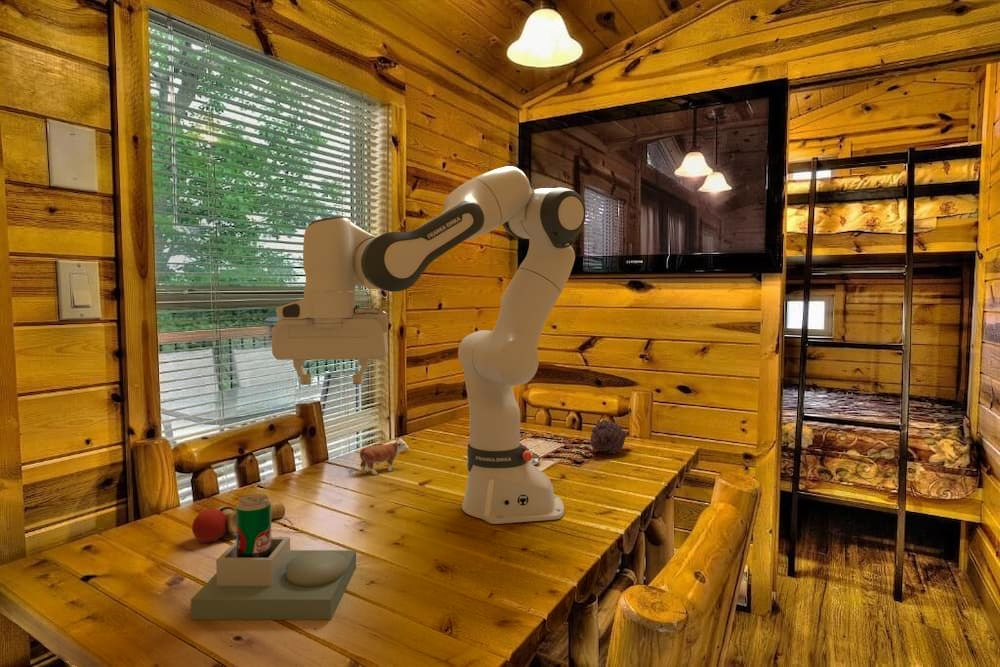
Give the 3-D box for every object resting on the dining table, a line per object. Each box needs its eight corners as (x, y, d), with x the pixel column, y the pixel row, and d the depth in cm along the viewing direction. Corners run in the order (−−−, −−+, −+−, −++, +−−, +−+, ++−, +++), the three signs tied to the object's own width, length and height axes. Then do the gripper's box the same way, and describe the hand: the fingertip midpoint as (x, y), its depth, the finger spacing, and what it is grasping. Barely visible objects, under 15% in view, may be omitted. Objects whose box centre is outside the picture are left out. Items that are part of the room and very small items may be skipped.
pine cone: (605, 463, 163) (606, 428, 162) (576, 456, 169) (576, 422, 169) (636, 451, 176) (636, 418, 175) (607, 445, 183) (608, 413, 182)
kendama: (267, 518, 124) (181, 534, 110) (273, 490, 124) (187, 502, 109) (287, 534, 120) (200, 552, 105) (294, 504, 119) (207, 519, 105)
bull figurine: (410, 469, 155) (410, 439, 155) (362, 477, 148) (362, 446, 147) (403, 465, 159) (403, 435, 158) (356, 473, 151) (356, 442, 151)
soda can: (259, 583, 88) (257, 505, 87) (229, 579, 89) (228, 502, 88) (278, 567, 93) (277, 494, 92) (250, 564, 94) (249, 491, 93)
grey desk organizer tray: (356, 567, 100) (356, 527, 99) (331, 619, 84) (330, 572, 83) (239, 567, 99) (238, 527, 99) (191, 619, 83) (190, 572, 83)
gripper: (391, 307, 108) (392, 381, 109) (280, 307, 107) (282, 381, 108) (385, 308, 101) (386, 386, 102) (267, 308, 101) (269, 387, 102)
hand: (331, 384), depth 105 cm, fingers open, 8 cm apart
